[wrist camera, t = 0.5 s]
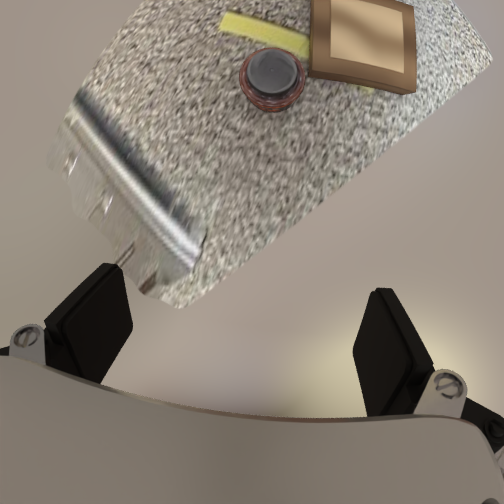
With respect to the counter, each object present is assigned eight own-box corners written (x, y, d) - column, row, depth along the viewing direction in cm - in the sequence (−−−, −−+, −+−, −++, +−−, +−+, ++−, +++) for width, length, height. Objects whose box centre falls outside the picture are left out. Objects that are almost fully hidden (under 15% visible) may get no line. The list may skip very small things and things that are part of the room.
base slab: (310, -5, 23) (314, -19, 19) (401, 15, 23) (414, 5, 19) (308, 76, 28) (312, 69, 24) (402, 95, 28) (417, 92, 24)
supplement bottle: (242, 106, 30) (225, 96, 20) (253, 61, 28) (242, 31, 18) (291, 118, 31) (299, 112, 20) (303, 73, 28) (316, 47, 18)
